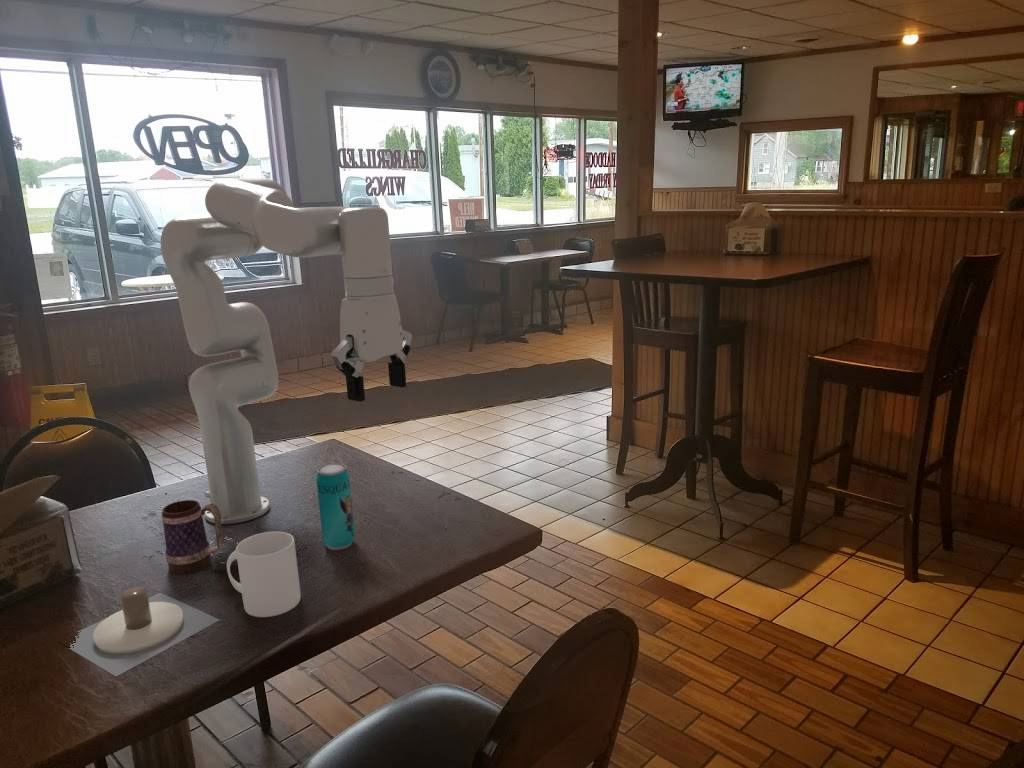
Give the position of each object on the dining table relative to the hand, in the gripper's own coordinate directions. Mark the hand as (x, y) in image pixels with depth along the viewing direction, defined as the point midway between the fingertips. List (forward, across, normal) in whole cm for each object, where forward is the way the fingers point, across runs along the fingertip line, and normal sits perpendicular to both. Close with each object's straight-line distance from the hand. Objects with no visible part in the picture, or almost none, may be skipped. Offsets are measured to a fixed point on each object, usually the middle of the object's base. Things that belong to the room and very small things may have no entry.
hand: (377, 393), depth 121 cm
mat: (+31, +34, -19) cm, 50 cm away
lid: (+30, +35, -19) cm, 50 cm away
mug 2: (+31, +20, -9) cm, 38 cm away
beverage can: (+31, -1, -14) cm, 34 cm away
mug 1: (+31, +17, -30) cm, 46 cm away
